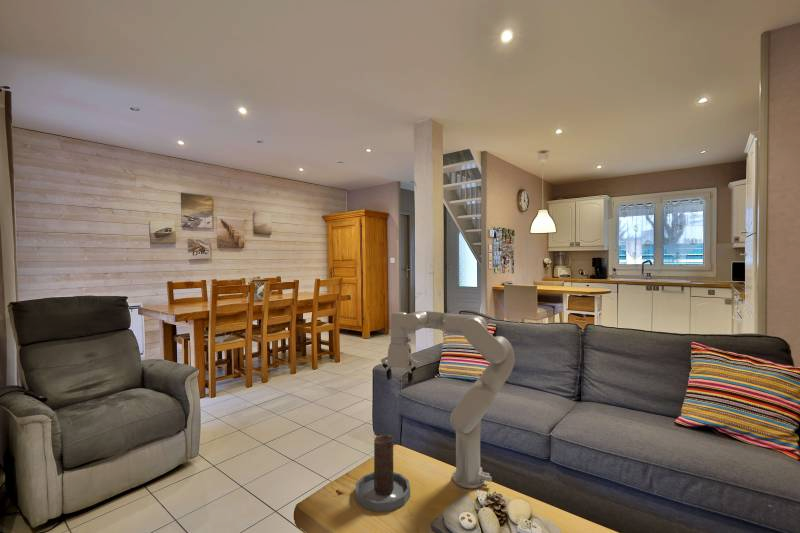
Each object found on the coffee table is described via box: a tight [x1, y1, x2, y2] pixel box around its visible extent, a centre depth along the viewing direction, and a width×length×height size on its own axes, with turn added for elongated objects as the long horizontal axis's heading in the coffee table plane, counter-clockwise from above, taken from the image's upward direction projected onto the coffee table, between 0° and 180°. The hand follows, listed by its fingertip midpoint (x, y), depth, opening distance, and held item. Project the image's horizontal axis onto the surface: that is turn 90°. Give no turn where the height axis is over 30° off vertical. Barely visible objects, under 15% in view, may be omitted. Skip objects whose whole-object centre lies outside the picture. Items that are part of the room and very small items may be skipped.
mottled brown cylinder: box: [373, 434, 394, 494], centre depth 135 cm, size 8×7×20 cm
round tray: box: [355, 471, 411, 513], centre depth 135 cm, size 20×20×3 cm
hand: (399, 380), depth 156 cm, fingers open, 9 cm apart
